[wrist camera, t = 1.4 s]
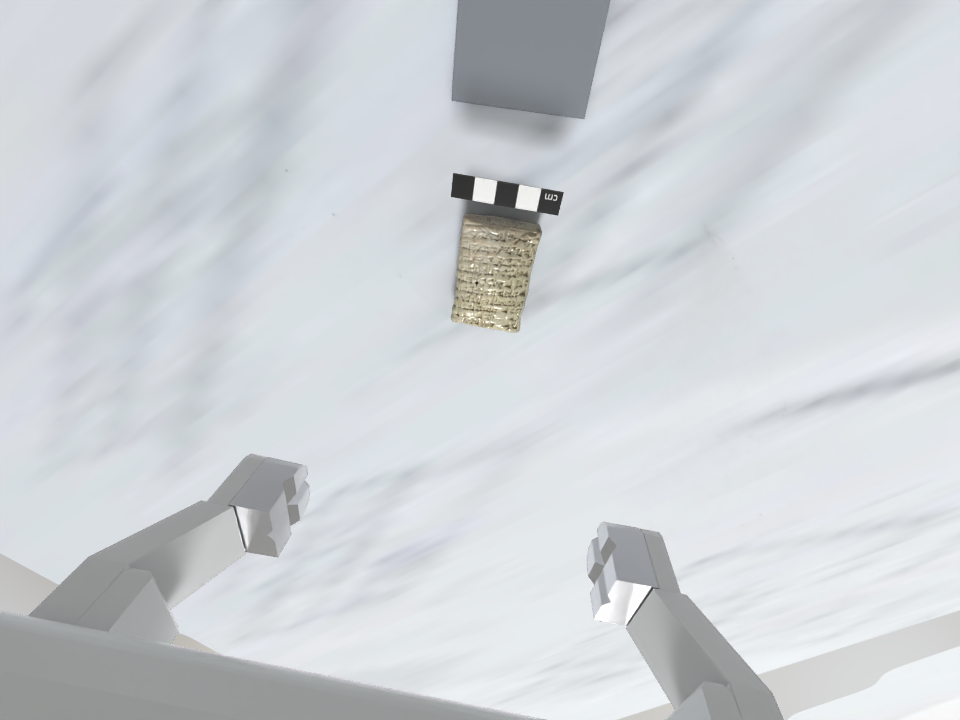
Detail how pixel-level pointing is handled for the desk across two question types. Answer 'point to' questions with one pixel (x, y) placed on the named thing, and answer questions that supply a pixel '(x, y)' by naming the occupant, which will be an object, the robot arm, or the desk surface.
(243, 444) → the desk surface
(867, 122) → the desk surface
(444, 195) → the desk surface
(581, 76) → the felt pad
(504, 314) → the cuneiform tablet
